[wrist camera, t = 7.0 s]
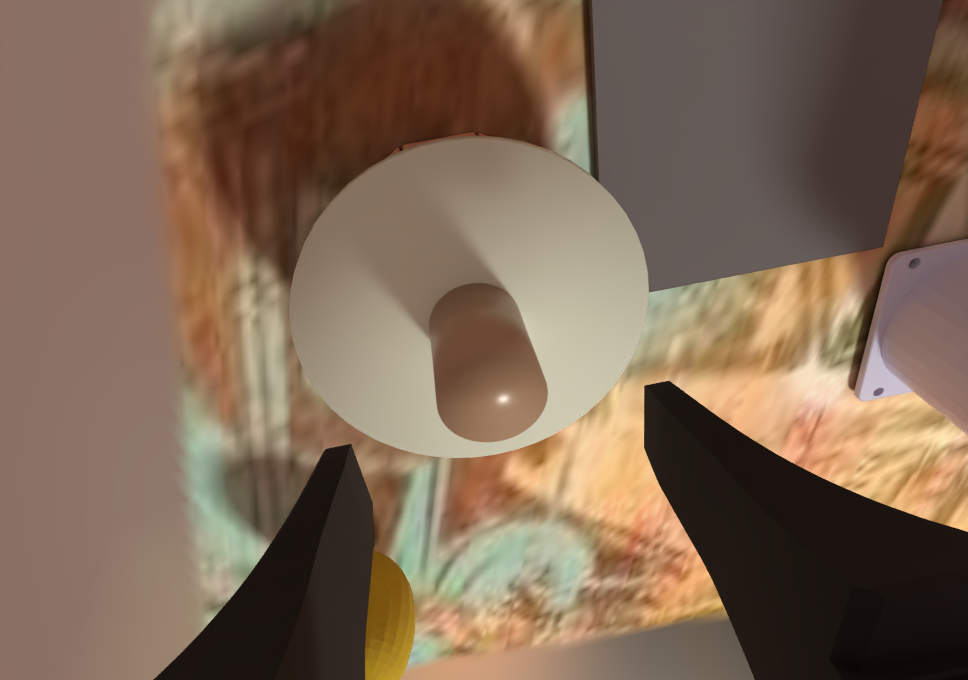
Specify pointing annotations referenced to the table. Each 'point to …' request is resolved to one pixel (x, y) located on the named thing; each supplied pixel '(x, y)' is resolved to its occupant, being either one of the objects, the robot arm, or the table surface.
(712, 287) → the table surface
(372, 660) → the lemon
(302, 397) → the table surface
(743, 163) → the mat
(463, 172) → the lid
